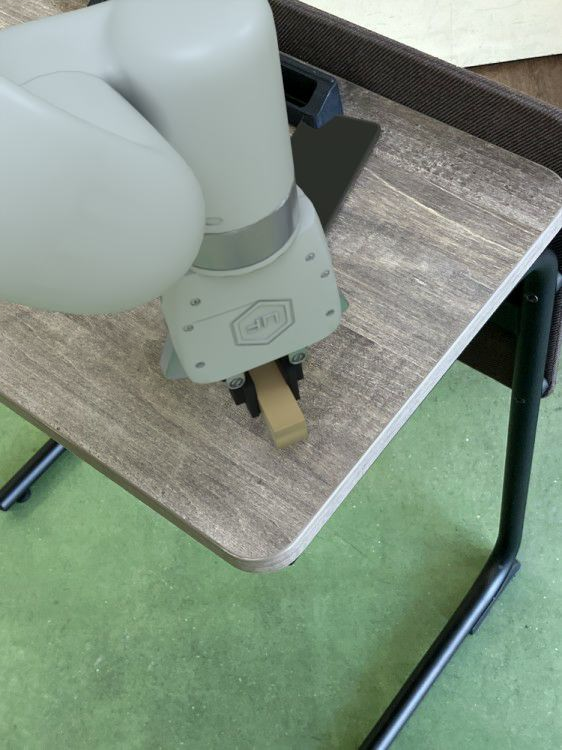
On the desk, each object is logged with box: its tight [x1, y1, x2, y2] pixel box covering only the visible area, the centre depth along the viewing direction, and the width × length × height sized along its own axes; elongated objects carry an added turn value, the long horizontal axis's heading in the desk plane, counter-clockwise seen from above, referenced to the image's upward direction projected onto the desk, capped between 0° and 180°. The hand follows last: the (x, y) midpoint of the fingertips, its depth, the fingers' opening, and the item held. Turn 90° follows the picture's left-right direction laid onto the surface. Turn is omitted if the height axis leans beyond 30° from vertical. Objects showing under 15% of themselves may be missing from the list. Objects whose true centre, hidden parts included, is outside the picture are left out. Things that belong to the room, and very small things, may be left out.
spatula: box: [248, 360, 309, 451], centre depth 66 cm, size 15×5×2 cm, turn 22°
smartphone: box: [290, 112, 382, 236], centre depth 82 cm, size 7×1×16 cm
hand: (268, 391), depth 65 cm, fingers closed on spatula, 2 cm apart
